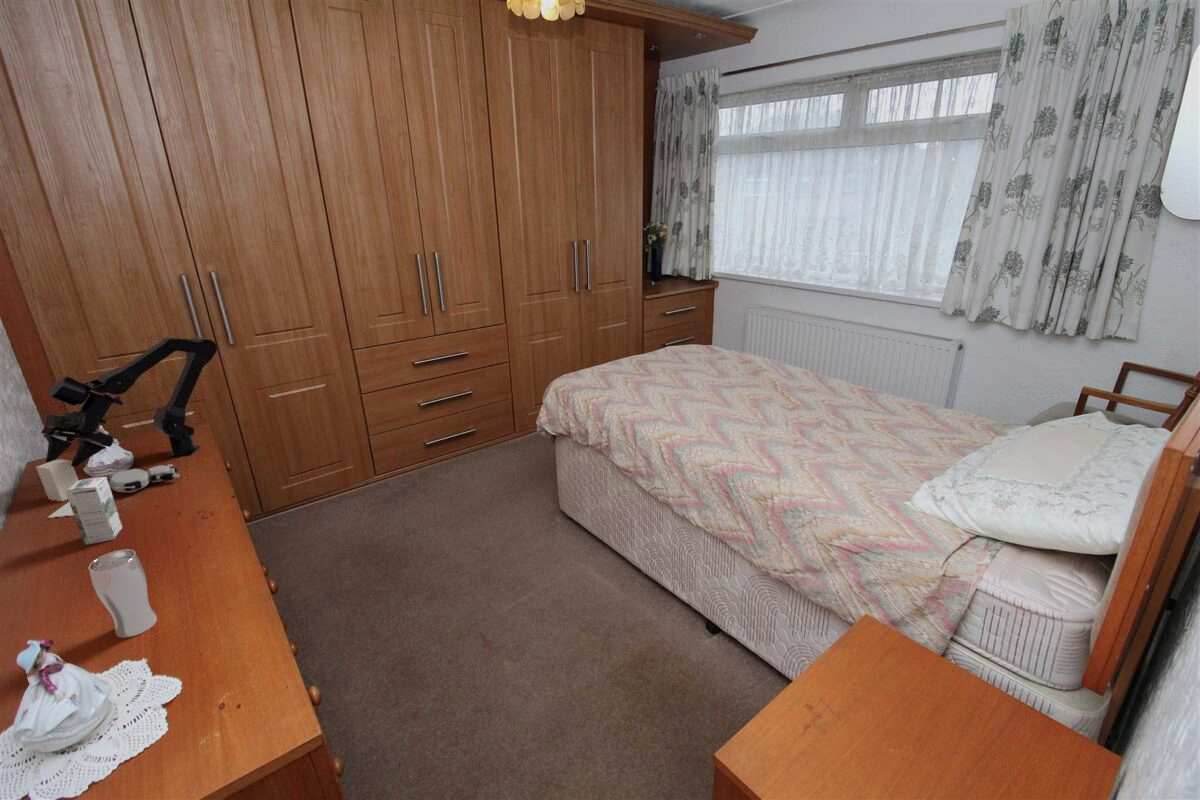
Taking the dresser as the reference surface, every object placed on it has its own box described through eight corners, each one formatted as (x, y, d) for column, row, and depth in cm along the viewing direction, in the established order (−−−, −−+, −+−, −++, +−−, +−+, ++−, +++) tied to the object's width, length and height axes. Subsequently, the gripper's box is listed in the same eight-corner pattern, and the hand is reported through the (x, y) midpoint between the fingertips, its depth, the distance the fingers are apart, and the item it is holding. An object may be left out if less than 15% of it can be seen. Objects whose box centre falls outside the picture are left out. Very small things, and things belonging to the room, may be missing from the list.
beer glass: (154, 608, 106) (132, 543, 101) (164, 624, 102) (141, 558, 97) (109, 628, 101) (82, 561, 96) (117, 646, 97) (90, 577, 92)
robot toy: (174, 472, 164) (108, 486, 153) (171, 458, 163) (105, 471, 152) (183, 485, 156) (115, 501, 145) (180, 470, 155) (112, 486, 144)
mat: (69, 502, 145) (69, 501, 145) (104, 499, 147) (103, 498, 146) (47, 518, 138) (47, 517, 137) (84, 514, 139) (83, 513, 139)
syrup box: (94, 533, 131) (74, 480, 127) (124, 527, 134) (106, 475, 129) (84, 545, 126) (63, 491, 122) (115, 539, 129) (96, 486, 124)
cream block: (69, 490, 151) (57, 458, 148) (83, 492, 150) (71, 460, 147) (49, 499, 147) (35, 466, 143) (62, 501, 146) (49, 468, 142)
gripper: (37, 398, 148) (2, 450, 142) (88, 403, 144) (54, 458, 137) (79, 414, 158) (47, 464, 152) (127, 420, 154) (97, 472, 147)
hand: (60, 464), depth 147 cm, fingers open, 9 cm apart
